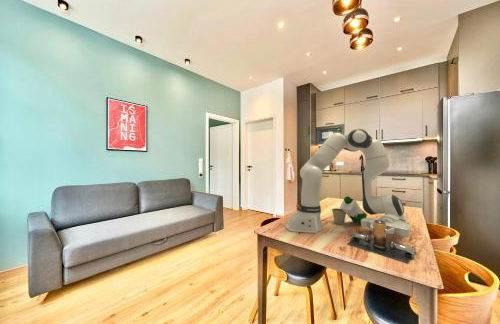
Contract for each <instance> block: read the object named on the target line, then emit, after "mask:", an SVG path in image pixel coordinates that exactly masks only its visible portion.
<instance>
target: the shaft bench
mask: <svg viewBox="0 0 500 324" xmlns="http://www.w3.org/2000/svg"><path fill="white" fill-rule="evenodd" d="M350 236H351V240H350V241H349V242H347V243H346V245H348V246H350V247H355V248H358V249H361V250H364V251H367V252H370V253H374V254H377V255H380V256H383V257H384V258H385V257H386V258H390V259H392V260H395V261H399V262H401V263H404V262H405V264H407V263H408V264H409V263H410V262H411V260H412V261H413V258H414V257H415V255H416V254H417V251H415V248H414V247H410V246H407V245H403V244H399V243H396V242H395V241H393V240H390V242H389V244H388V243H386V245H387V249H379V248H376V247H374V246H373V243H374V239H372V235H369V234H361V233H358V232H354V231H352V232H351V234H350Z"/></svg>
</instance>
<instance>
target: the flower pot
mask: <svg viewBox="0 0 500 324" xmlns="http://www.w3.org/2000/svg"><path fill="white" fill-rule="evenodd" d="M331 212H332V216H333V217H332V218H333V222H334V224H336V225H344V224H345V220H346V215H347V214H346V213H345V212H344V211H343V210H342V209H341V208H332V209H331Z"/></svg>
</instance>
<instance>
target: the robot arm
mask: <svg viewBox="0 0 500 324" xmlns="http://www.w3.org/2000/svg"><path fill="white" fill-rule="evenodd" d="M343 150H345V151H349V152H357V151H360V152H362V154H363V156H364V161H365V166H364V169H363V170H362V172H361V187H362V188H361V190H362V210H363V211H364V212H365V213H366V214H367V215H368V214H369V215H371V216H372V215H381V214H383V215H381V216H380V217H379V218H378V219H377V218H373V217H366V218H364V219H361V224H360V225H361V226H362V227H363V228H367V229H369V230H370V231H374V221H375V220H381V221H384V222H385V223H386V229H385V233H386V235H387V234H388V235H390V234H392V235H393V234H394V235H398V236H401V237H406V238H409V237H411V225H410V221H408V220H406V217H405V215H404V213H405V207H404V204H403V202H402V200H401V199H400V198H399V197H397V196H396V195H394V194H389V195H380V196H373V193H372V192H373V189H372V188H373V187H372V181H373V180H374V179H375V178H377V177H378V176H380V175H382V174H384V173H385V172H386V171H387V170H388V168H389V167H390V161H389V160H390V159H389V157H388V153H387V150H386V148H385V146H384V145H383V142H382V141H381V140H379V139H373V137H372V136H371V135H370V134H369V133H368V132H367V131H366V130H364V129H363V128H356V129H353V130H351V131H350V132H349V133H348V134H346V135H344V134H342V133H340V132H334V133H331V135H329V136H328V137H327V138H326V140H324V142H323V143H322V144H321V146H320V147H319V148H318V149H317V150H316V151H315V153H313V155H312V156H311V157H310V158H309V159H308V160H307V162H305V164H304V165H303V166H302V167H301V168H300V170H299V177H301V179H302V183H301V191H300V195H301V196H300V202H301V203H300V204H297V203H296V204H295V206H296V208H297V210H296V211H295V212H293V214H291V215H289V219H288V222H286V223H285V229H286V230H288V231H289V232H292V233H294V232H295V233H311V234H318V233H319V232H321V231H322V230H323V229H324V228H323V225H322V224H323V223H322V221H321V220H322V219H321V213H322V212H321V211H322V207H321V198H320V197H321V193H320V192H321V187H322V180H323V179H322V178H323V171H325V169H326V168H328V166H331V164H332V163H333V162H334V160H335V159H336V158H337V156H339V154H340V153H341V151H343Z"/></svg>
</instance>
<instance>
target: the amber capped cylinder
mask: <svg viewBox="0 0 500 324" xmlns="http://www.w3.org/2000/svg"><path fill="white" fill-rule="evenodd" d="M385 229H386V223H385V222H384V221H381V220H375V221H374V230H373V240H374V243H373V246H374V247H376V248H379V249H387V245H386V244H387V233H385Z"/></svg>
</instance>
